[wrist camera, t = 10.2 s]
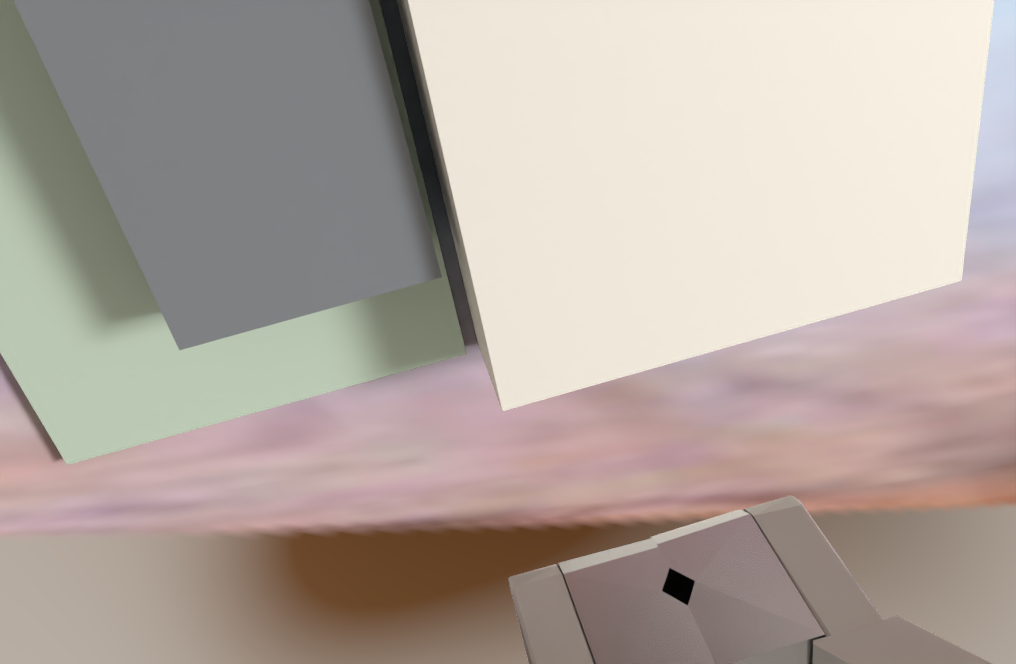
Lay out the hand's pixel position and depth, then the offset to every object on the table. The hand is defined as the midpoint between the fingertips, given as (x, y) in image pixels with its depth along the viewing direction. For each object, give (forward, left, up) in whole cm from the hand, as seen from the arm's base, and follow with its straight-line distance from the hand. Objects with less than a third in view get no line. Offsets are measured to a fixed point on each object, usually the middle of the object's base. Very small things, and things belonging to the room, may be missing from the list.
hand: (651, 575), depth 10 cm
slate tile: (+1, -5, -21) cm, 21 cm away
